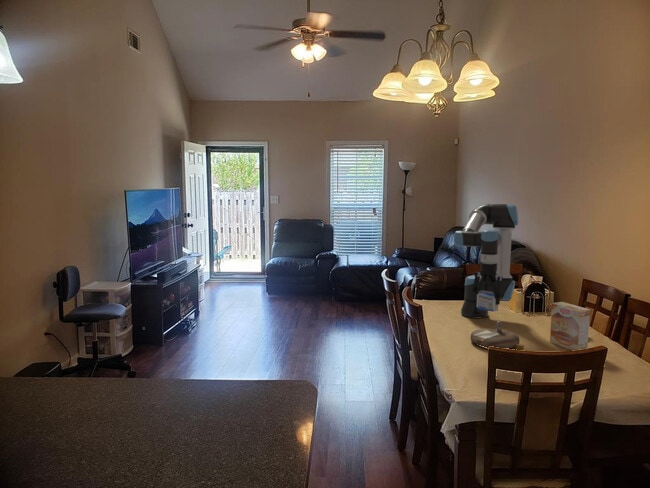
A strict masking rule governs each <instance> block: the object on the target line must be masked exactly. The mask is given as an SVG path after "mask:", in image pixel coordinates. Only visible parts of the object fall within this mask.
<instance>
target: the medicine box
mask: <svg viewBox="0 0 650 488" xmlns="http://www.w3.org/2000/svg"><path fill="white" fill-rule="evenodd" d="M494 298H495V295H494V292H490V291H483V290H481V291H479V292H478V309H481V310H487V311H488V312H491V313H492V312H494V311H493V302H494Z"/></svg>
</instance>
